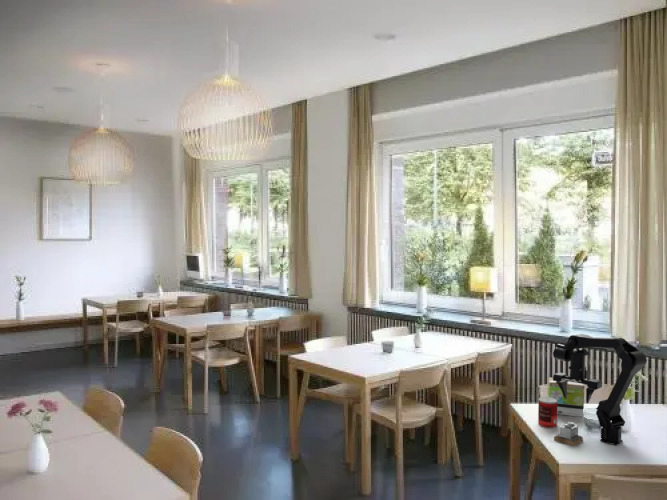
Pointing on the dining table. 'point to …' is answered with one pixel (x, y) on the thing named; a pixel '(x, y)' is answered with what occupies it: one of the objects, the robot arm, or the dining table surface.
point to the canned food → (547, 412)
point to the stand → (572, 442)
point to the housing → (568, 430)
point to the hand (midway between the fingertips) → (576, 400)
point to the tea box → (573, 401)
